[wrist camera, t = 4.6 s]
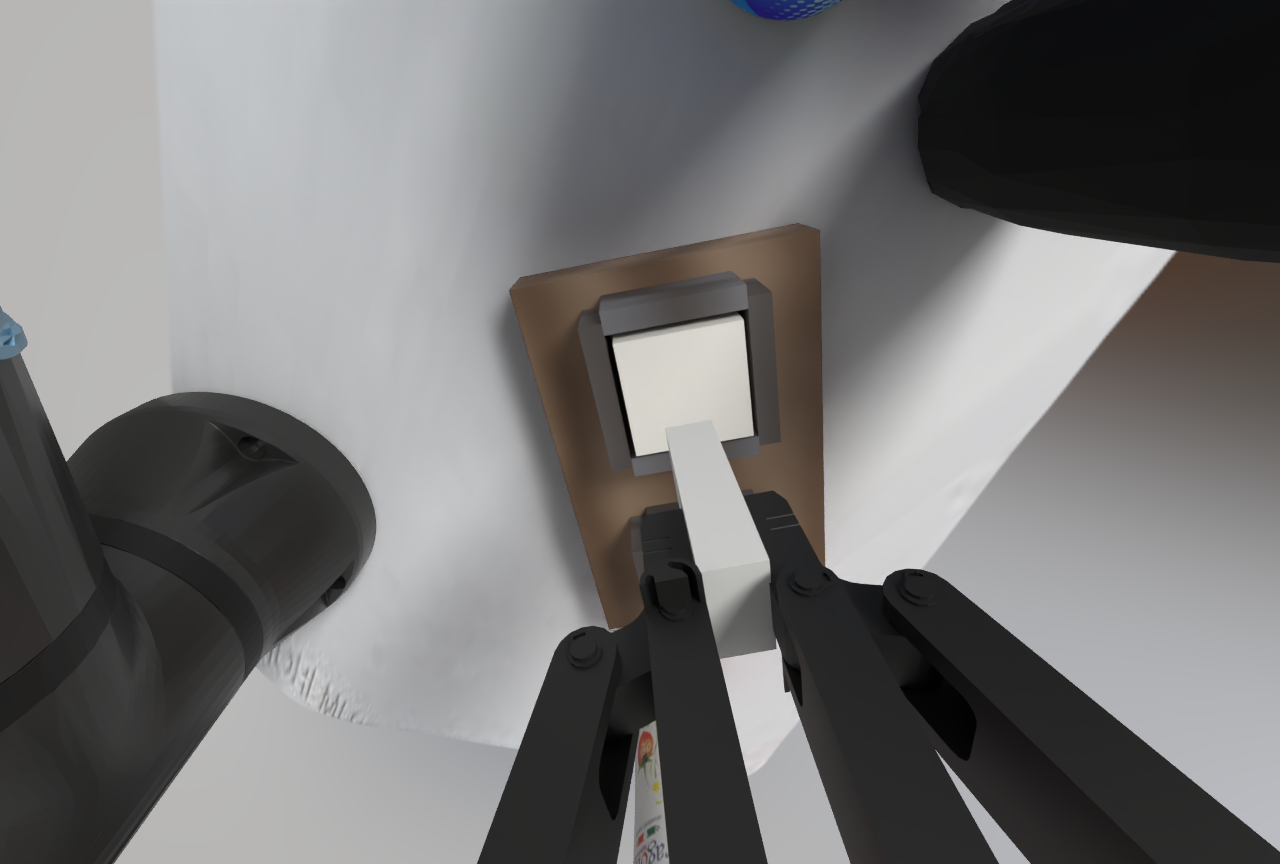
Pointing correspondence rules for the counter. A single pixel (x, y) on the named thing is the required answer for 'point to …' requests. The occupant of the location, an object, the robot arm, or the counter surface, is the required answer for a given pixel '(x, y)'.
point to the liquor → (649, 801)
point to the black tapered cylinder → (1115, 122)
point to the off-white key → (685, 378)
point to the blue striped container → (785, 8)
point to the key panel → (594, 402)
